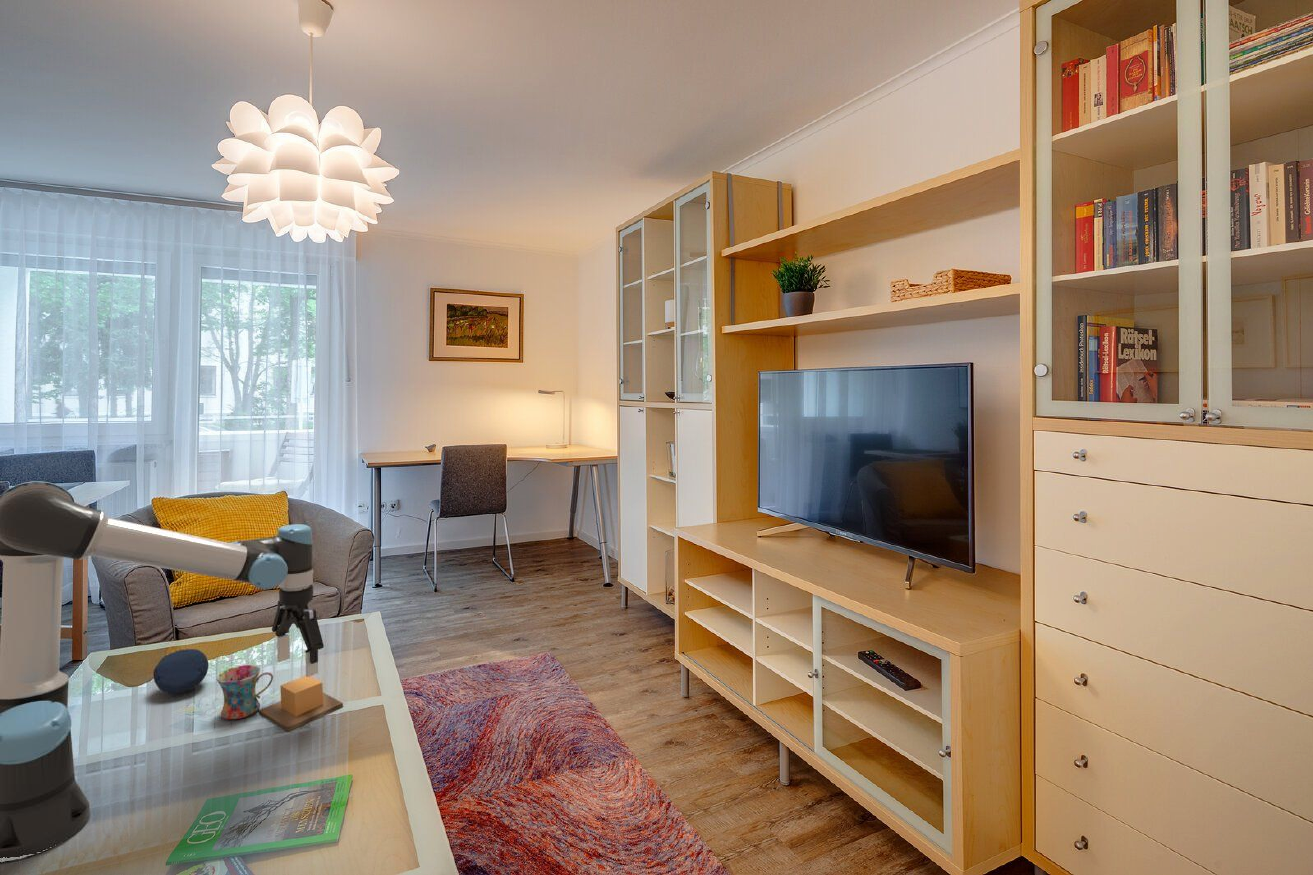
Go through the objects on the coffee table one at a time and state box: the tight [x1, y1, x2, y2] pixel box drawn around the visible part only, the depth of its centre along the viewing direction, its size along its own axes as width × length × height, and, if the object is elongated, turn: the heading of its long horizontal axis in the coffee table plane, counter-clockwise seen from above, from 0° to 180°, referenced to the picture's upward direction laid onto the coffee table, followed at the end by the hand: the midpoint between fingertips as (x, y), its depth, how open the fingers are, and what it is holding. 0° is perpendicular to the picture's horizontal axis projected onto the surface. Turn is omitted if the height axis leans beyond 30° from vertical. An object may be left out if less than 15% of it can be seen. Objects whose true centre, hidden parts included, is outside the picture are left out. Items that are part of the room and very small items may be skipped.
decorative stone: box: [153, 648, 209, 695], centre depth 173 cm, size 12×12×10 cm
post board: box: [258, 692, 344, 732], centre depth 164 cm, size 14×14×6 cm
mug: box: [216, 664, 274, 720], centre depth 163 cm, size 12×9×11 cm
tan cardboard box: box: [279, 675, 324, 716], centre depth 164 cm, size 7×7×6 cm
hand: (297, 667), depth 163 cm, fingers open, 13 cm apart
